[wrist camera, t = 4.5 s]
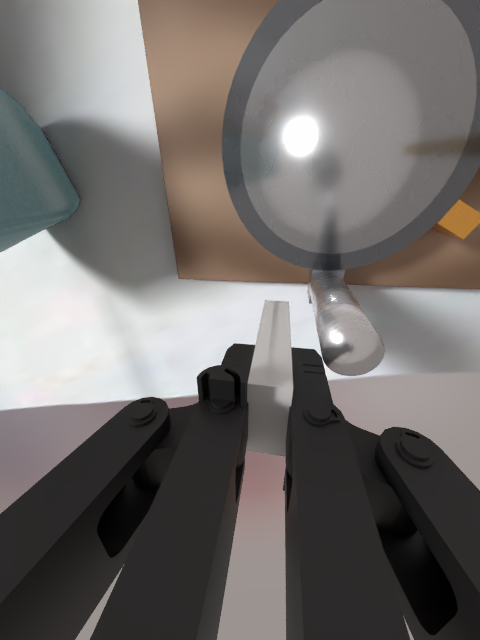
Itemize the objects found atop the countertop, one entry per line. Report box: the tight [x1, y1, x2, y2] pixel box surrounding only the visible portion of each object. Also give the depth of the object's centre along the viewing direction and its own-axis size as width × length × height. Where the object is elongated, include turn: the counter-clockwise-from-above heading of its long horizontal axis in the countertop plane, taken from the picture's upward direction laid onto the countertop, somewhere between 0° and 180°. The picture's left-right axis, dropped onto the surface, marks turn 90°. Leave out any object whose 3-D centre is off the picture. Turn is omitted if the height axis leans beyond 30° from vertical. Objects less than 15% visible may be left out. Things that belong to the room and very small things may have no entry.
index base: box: [138, 0, 480, 289], centre depth 12 cm, size 15×21×5 cm
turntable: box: [222, 0, 480, 376], centre depth 9 cm, size 14×13×9 cm
